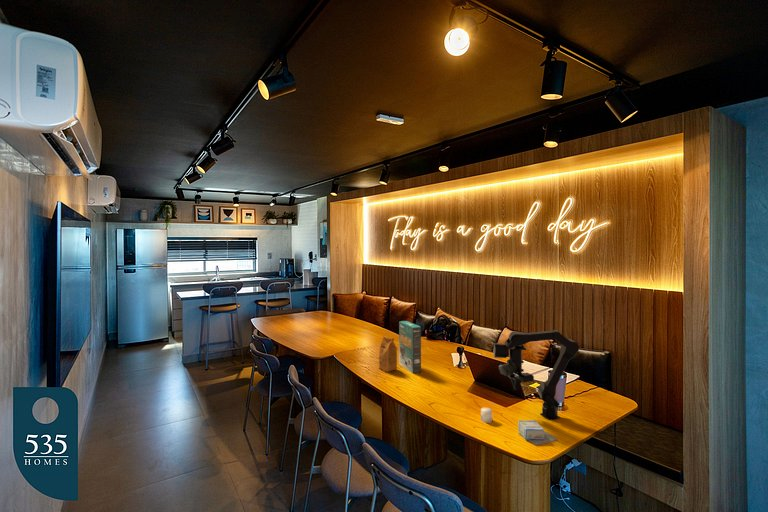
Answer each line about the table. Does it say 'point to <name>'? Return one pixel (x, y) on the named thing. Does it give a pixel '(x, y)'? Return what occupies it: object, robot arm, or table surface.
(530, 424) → the medicine box
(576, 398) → the table surface
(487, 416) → the egg
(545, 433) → the mat
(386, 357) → the coffee package
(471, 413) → the table surface
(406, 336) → the cake mix box
